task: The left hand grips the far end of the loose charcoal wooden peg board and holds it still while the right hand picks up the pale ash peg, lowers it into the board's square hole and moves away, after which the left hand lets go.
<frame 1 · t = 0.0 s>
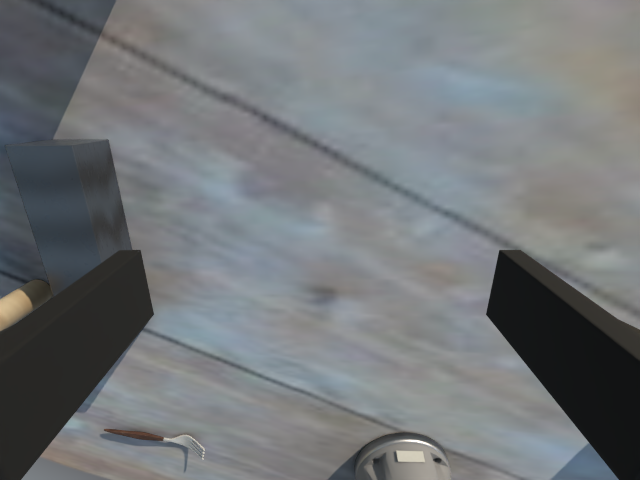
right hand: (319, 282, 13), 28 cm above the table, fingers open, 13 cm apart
peg: (40, 290, 45), on the table
fork: (158, 434, 54), on the table
peg board: (104, 240, 42), on the table
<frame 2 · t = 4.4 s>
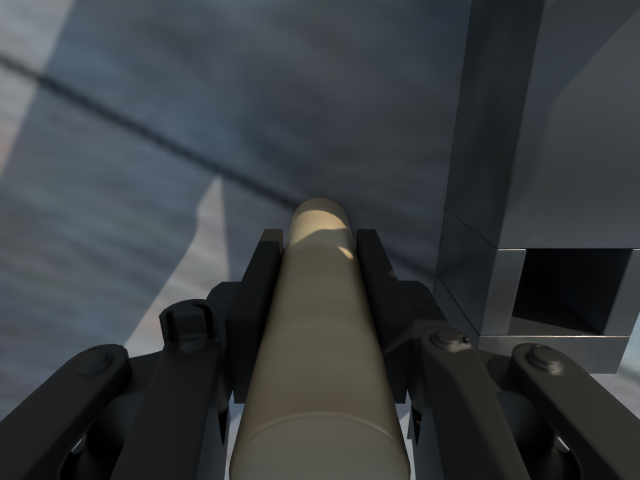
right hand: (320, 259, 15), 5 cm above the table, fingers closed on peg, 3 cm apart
peg: (320, 225, 19), on the table, touching right hand
peg board: (525, 87, 17), on the table, touching left hand
when the right hand's fingers open (8 cm above the table, at t = 8.9 s): peg drops 4 cm, resting in peg board.
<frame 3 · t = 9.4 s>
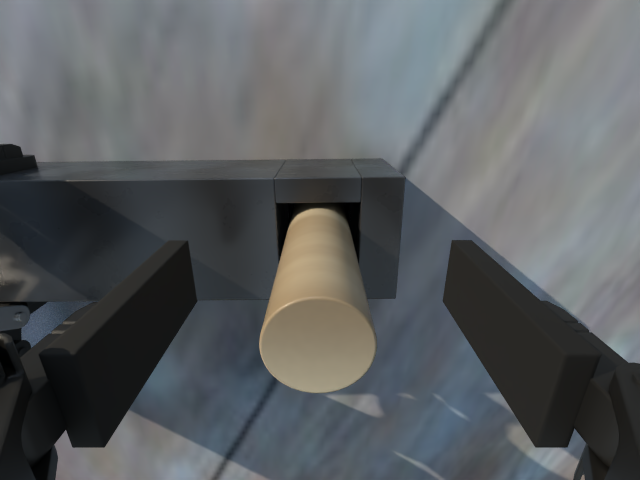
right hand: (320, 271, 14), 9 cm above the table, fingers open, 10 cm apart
peg: (319, 207, 22), resting in peg board
peg board: (196, 210, 22), on the table, touching left hand
when the left hand's fingers open (2 cm above the table, at t = 12.4 s): peg board stays where it is, on the table.
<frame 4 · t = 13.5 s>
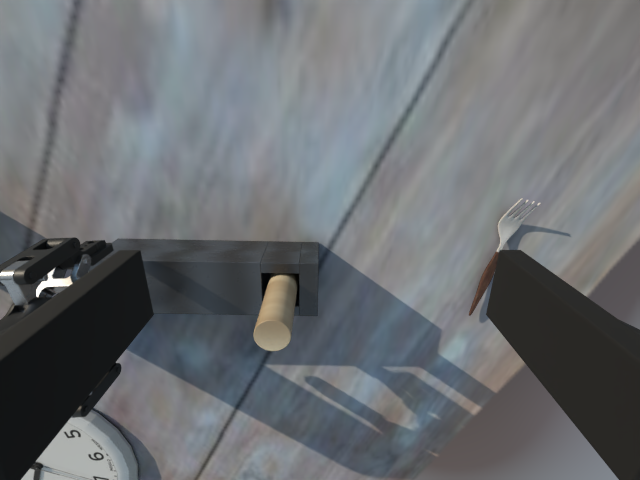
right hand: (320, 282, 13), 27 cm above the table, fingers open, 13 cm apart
peg: (287, 265, 42), resting in peg board
wall clock: (43, 458, 54), on the table
fork: (492, 258, 42), on the table
peg board: (220, 264, 42), on the table
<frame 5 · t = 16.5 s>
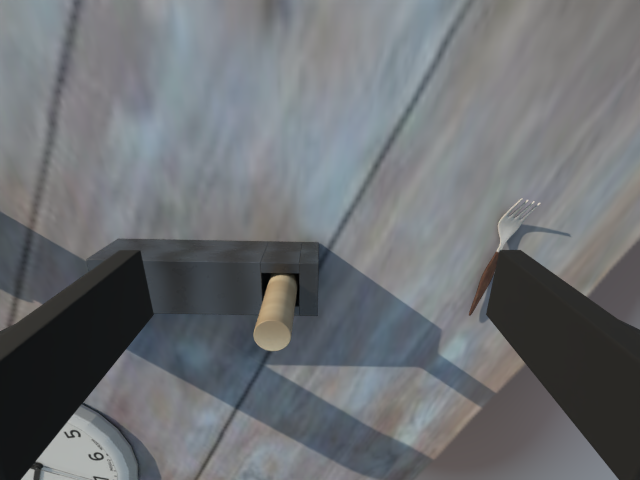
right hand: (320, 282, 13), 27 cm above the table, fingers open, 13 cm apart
peg: (287, 265, 42), resting in peg board
wall clock: (43, 458, 54), on the table
fork: (492, 258, 42), on the table
peg board: (220, 264, 42), on the table
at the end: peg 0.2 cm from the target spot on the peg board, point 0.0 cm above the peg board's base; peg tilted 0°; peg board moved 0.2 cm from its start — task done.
